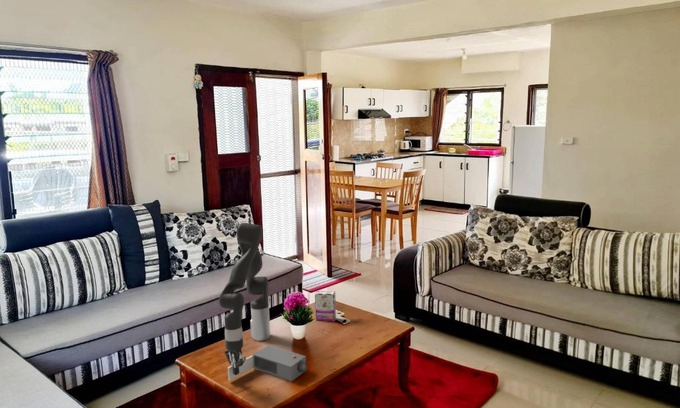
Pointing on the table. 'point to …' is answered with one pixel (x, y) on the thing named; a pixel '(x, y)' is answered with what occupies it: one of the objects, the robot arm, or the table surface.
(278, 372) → the camera box
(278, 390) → the table surface
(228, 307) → the robot arm
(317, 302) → the candy bar box
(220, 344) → the table surface
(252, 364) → the side door
